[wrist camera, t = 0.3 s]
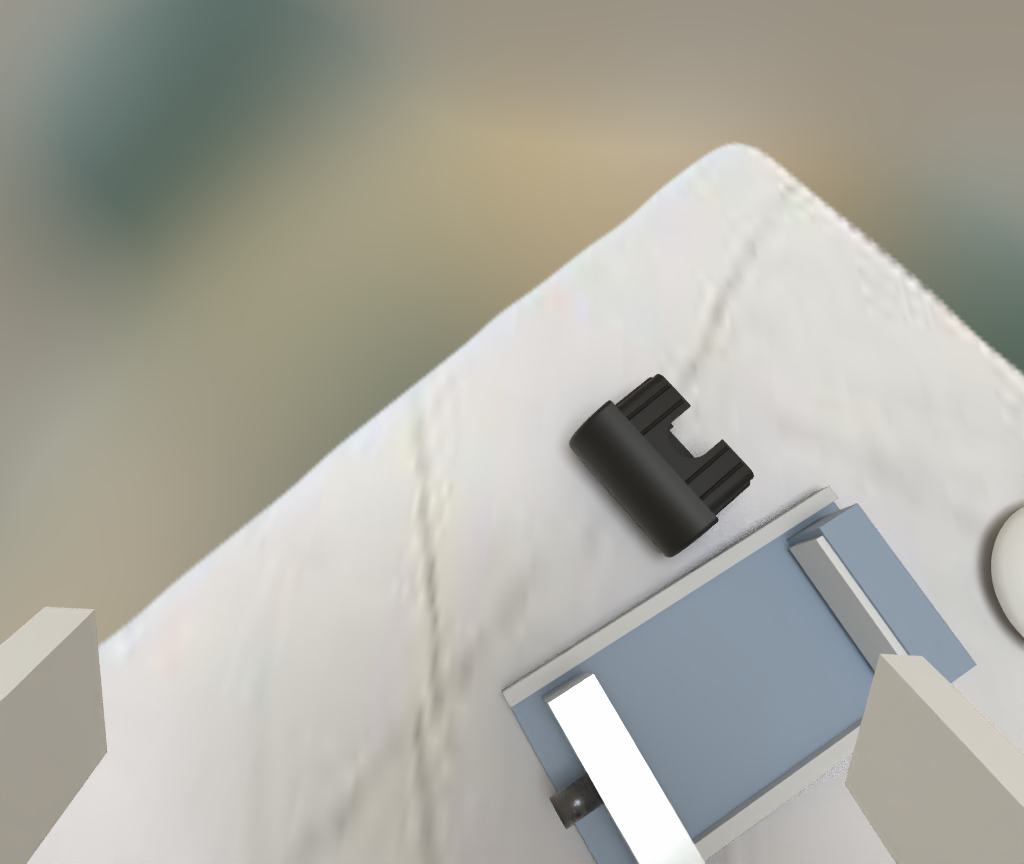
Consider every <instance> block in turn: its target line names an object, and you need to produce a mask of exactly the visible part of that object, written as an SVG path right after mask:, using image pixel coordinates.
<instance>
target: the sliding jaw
mask: <svg viewBox="0 0 1024 864" xmlns="http://www.w3.org/2000/svg"><path fill="white" fill-rule="evenodd" d="M542 698H543V700H544V702H545V703H546V705H547V707H548V709H549V710H550V712H551V714H552V716H553V718H554V719H555V721H556V723H557V725H558V726H559V728H560V730H561V732H562V733H563V735H564V737H565V739H566V740H567V742H568V744H569V746H570V748H571V749H572V751H573V753H574V755H575V756H576V758H577V760H578V762H579V763H580V765H581V767H582V769H583V771H584V772H585V774H584V775H583V776H581V777H580V778H578V779H577V780H575V781H574V782H572V783H571V784H569V785H568V786H566V787H565V788H564V789H562V790H561V791H559V792H558V793H556V794H555V795H553V796H552V797H550V800H551V802H552V804H553V806H554V808H555V810H556V812H557V814H558V815H559V817H560V819H561V821H562V823H563V824H564V826H565V828H566V829H568V828H569V827H570V826H572V825H573V824H575V823H576V822H578V821H579V820H581V819H582V818H584V817H585V816H587V815H588V814H589V813H591V812H592V811H594V810H595V809H597V808H598V807H600V806H601V805H603V806H604V808H605V809H606V811H607V813H608V815H609V816H610V818H611V820H612V822H613V823H614V825H615V827H616V829H617V831H618V832H619V834H620V836H621V838H622V839H623V841H624V843H625V845H626V846H627V848H628V850H629V852H630V853H631V855H632V857H633V859H634V861H635V862H636V864H705V862H704V860H703V859H702V857H701V855H700V853H699V852H698V850H697V848H696V847H695V845H694V843H693V842H692V840H691V838H690V837H689V835H688V833H687V831H686V830H685V828H684V826H683V825H682V823H681V821H680V820H679V818H678V816H677V815H676V813H675V811H674V809H673V808H672V806H671V804H670V803H669V801H668V799H667V798H666V796H665V794H664V793H663V791H662V789H661V787H660V786H659V784H658V782H657V781H656V779H655V777H654V776H653V774H652V772H651V771H650V769H649V767H648V765H647V764H646V762H645V760H644V759H643V757H642V755H641V754H640V752H639V750H638V749H637V747H636V745H635V743H634V742H633V740H632V738H631V737H630V735H629V733H628V732H627V730H626V728H625V727H624V725H623V723H622V721H621V720H620V718H619V716H618V715H617V713H616V711H615V710H614V708H613V706H612V705H611V703H610V701H609V699H608V698H607V696H606V694H605V693H604V691H603V689H602V688H601V686H600V684H599V683H598V681H597V679H596V677H595V676H594V674H591V673H588V672H584V671H581V672H580V673H578V674H577V675H575V676H574V677H572V678H570V679H569V680H567V681H566V682H564V683H563V684H561V685H560V686H558V687H556V688H555V689H553V690H552V691H550V692H549V693H547V694H546V695H544V696H542Z"/></svg>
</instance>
